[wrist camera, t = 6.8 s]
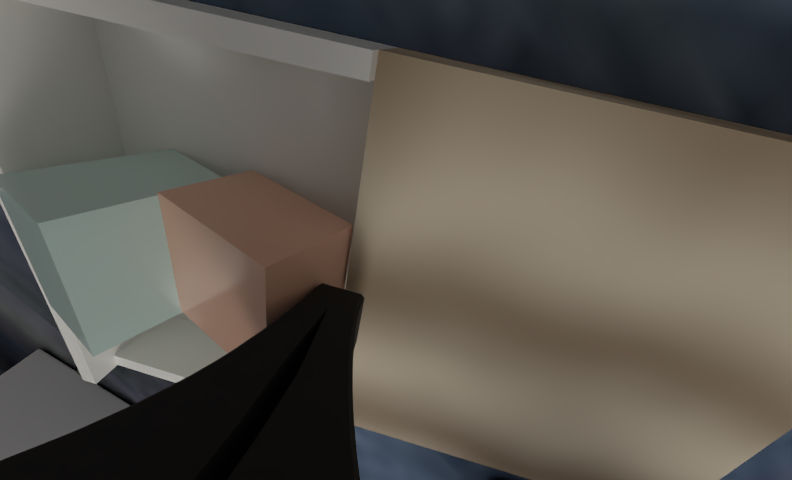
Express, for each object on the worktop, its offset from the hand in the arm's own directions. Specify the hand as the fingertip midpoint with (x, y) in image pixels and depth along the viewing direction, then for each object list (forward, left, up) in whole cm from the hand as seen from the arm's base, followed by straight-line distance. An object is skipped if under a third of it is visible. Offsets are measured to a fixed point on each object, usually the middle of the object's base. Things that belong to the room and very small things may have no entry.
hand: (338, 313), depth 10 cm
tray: (0, +5, -3) cm, 6 cm away
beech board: (0, -7, -3) cm, 8 cm away
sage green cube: (0, +6, 0) cm, 6 cm away
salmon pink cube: (0, +2, -2) cm, 3 cm away
